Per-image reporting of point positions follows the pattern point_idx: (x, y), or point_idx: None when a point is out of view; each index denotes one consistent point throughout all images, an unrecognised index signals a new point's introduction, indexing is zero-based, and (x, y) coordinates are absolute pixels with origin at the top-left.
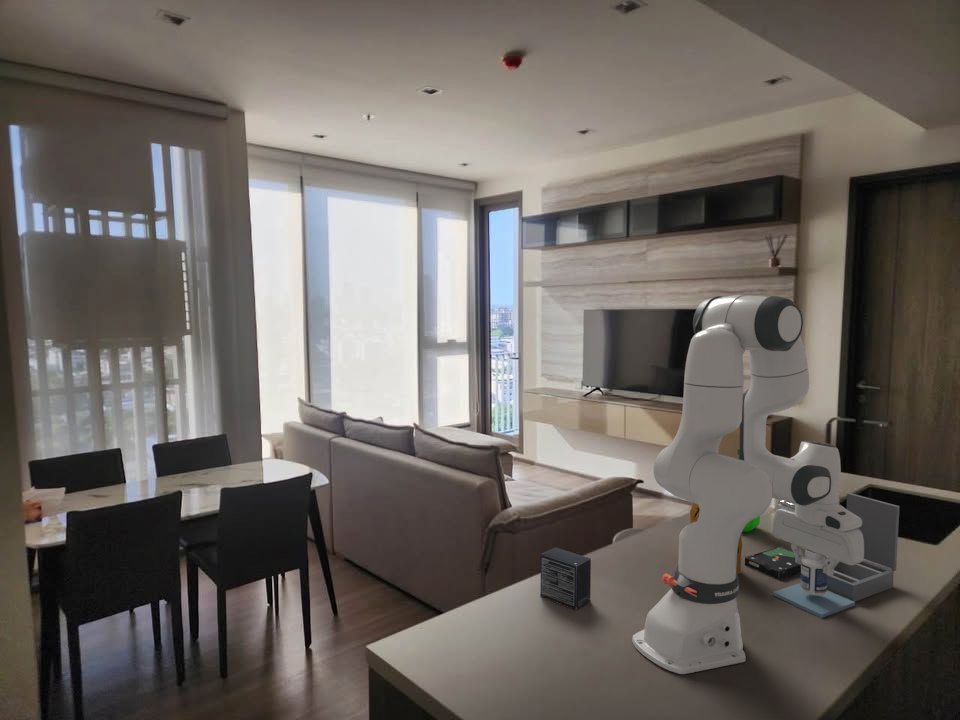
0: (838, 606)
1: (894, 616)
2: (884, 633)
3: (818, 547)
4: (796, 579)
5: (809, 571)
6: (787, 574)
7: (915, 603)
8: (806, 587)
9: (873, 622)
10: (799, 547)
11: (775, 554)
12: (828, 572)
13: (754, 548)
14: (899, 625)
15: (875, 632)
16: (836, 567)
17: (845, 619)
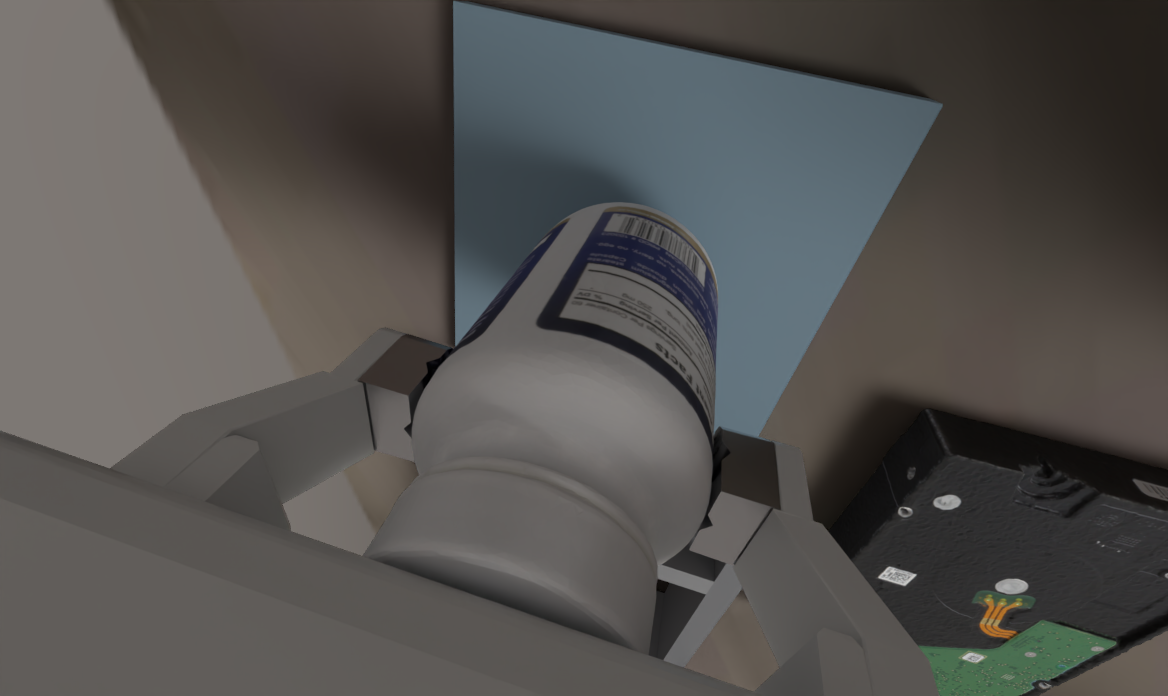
0: (467, 246)
1: (324, 356)
2: (205, 135)
3: (184, 680)
4: (815, 464)
5: (562, 297)
6: (880, 482)
7: (369, 495)
8: (632, 219)
9: (310, 226)
10: (780, 677)
11: (1008, 648)
12: (364, 344)
13: (1146, 691)
14: (257, 285)
15: (222, 104)
16: (664, 617)
17: (387, 137)
